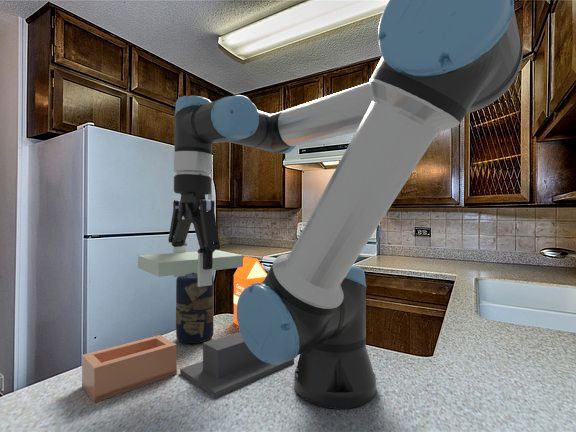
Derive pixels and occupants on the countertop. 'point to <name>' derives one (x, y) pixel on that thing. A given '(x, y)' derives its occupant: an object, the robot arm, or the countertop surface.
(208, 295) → the canister
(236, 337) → the mat stand
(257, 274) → the orange juice
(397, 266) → the countertop surface
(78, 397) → the countertop surface
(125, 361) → the dish
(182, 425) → the countertop surface
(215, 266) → the board
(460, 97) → the robot arm
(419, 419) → the countertop surface
